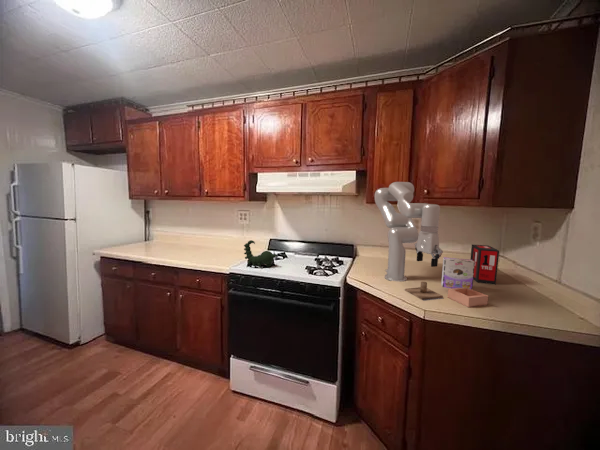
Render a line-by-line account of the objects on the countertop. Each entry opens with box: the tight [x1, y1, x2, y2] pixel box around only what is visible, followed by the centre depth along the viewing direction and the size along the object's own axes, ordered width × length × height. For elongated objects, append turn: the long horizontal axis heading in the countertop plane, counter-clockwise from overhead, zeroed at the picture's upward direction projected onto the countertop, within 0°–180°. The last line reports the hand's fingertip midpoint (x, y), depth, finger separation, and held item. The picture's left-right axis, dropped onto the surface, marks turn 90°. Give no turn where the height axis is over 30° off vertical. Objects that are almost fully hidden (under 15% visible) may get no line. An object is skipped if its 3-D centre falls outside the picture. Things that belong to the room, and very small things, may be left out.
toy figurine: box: [243, 240, 277, 268], centre depth 170 cm, size 9×19×25 cm
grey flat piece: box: [407, 292, 445, 302], centre depth 122 cm, size 14×12×1 cm
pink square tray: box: [447, 287, 489, 308], centre depth 114 cm, size 11×11×5 cm
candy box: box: [440, 256, 475, 290], centre depth 131 cm, size 14×6×16 cm, turn 66°
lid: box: [404, 281, 444, 301], centre depth 122 cm, size 12×12×6 cm
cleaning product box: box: [469, 244, 500, 285], centre depth 147 cm, size 16×9×20 cm, turn 159°
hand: (426, 263), depth 120 cm, fingers open, 9 cm apart
